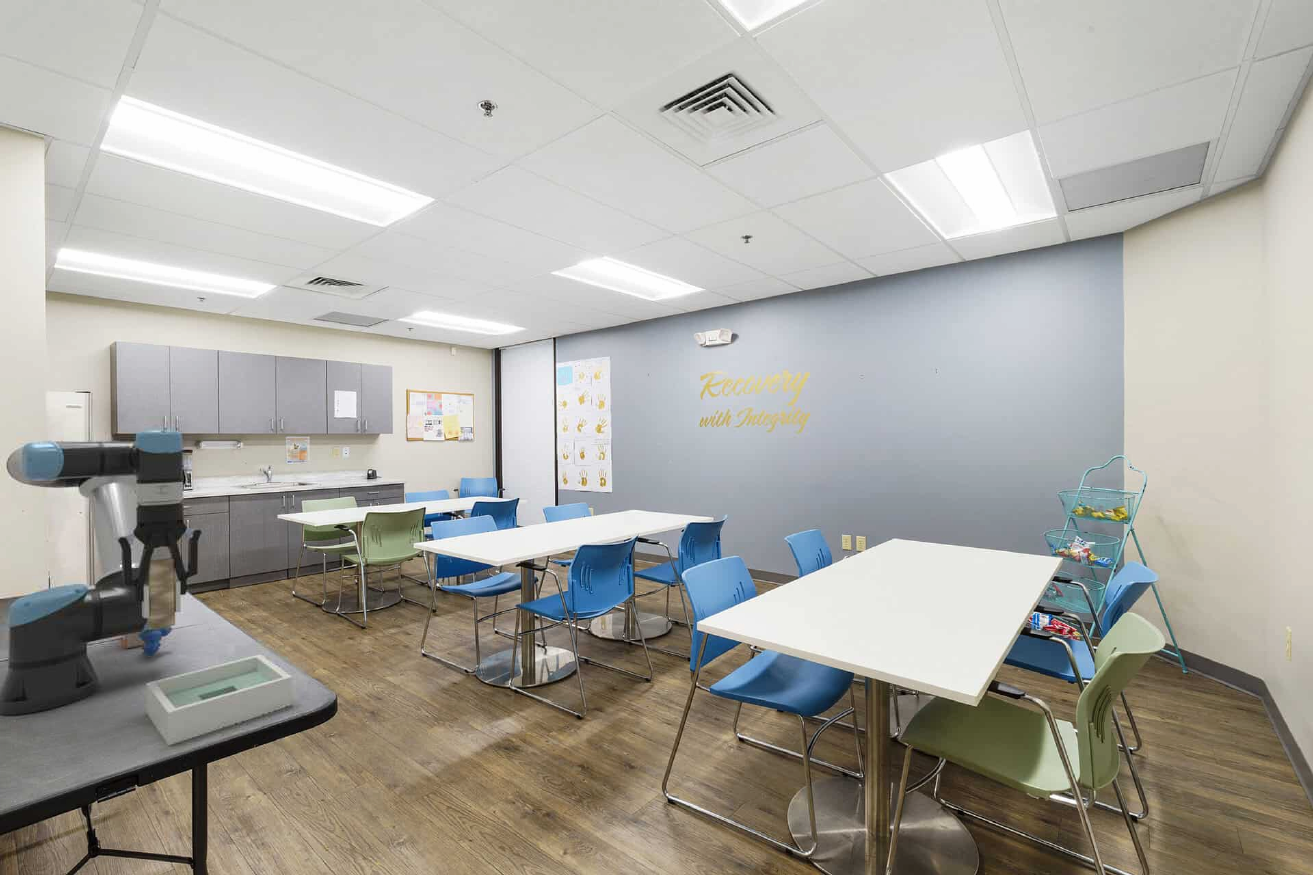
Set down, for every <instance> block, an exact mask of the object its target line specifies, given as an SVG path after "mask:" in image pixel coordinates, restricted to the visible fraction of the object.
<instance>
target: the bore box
mask: <svg viewBox="0 0 1313 875" xmlns="http://www.w3.org/2000/svg"><path fill="white" fill-rule="evenodd" d="M145 702H146V703H145V713H146V715H147V716H148V717H149V719H150V720H151V722H152V723H153V725H154V727H155V728H156V729H157V731H158V732H159V734H160V735H161V737H162V738H163V740H164V741H165V742H166V744H167V746H172V745H174V744H177V743H181V742H184V741H186V740H190V739H193V738H195V737H196V738H197V737H199V736H202V735H205V734H208V733H211V732H215V731H218V730H221V729H224V728H227V727H230V726H233V725H236V724H235V723H237V724H239V723H243V722H246V721H249V720H252V719H255V718H258V717H261V716H264V715H267V714H270V713H274V712H276V711H275V710H277V711H279V709H280V710H282V708H283V709H285V707H286V706H289V707H291V706H290V705H292V706H293V676H291V675H290V674H289V673H287V672H286V671H284V670H283V669H282V668H280V667H279V666H277V664H275V663H274V662H272V661H271V660H269V659H268V658H266V657H265V656H264V655H262V654H256V655H253V656H252V655H251V656H249V657H244V658H241V659H236V660H234V661H233V660H232V661H229V662H225V663H220V664H217V665H213V666H210V667H206V668H205V667H204V668H202V669H198V670H194V671H190V672H186V673H181V674H178V675H174V676H170V677H166V678H162V679H159V680H154V681H150V682H147V683H145ZM286 708H287V707H286ZM273 711H274V712H273ZM269 712H270V713H269ZM263 714H264V715H263ZM242 721H243V722H242ZM223 727H224V728H223Z"/></svg>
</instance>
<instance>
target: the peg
mask: <svg viewBox="0 0 1313 875" xmlns="http://www.w3.org/2000/svg"><path fill="white" fill-rule="evenodd" d="M175 574H176V571H175V563H174V559H173V558H171V557H161V558H154V559H151V561H150V564H149V568H148V571H147V585H148V586H149V618H148V629H149V630H156V629H163V628H167V627H171V628H172V627H173V626H175V625H176V612H175V580H176V579H175V578H176V576H175Z"/></svg>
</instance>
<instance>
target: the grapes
mask: <svg viewBox="0 0 1313 875" xmlns="http://www.w3.org/2000/svg"><path fill="white" fill-rule="evenodd" d="M172 631H173V628H172V626H171V627H167V628H163V629H156V630H145V631H144V632H141V633H140V634H139V635H138V636H139V637H141V638H140V639H142V640H143V641H144V643H145V644H144V645H143V646H141V648H140V649H141V650H142V653H143V654H145V655H146V656H148V657H152V656H155V655H156V654H157V653H158V651H159V650H160V647H161V645H162V643H161V641H162V638H163V637H166V636H169V634H170V633H171V632H172Z"/></svg>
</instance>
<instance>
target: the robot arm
mask: <svg viewBox="0 0 1313 875" xmlns="http://www.w3.org/2000/svg"><path fill="white" fill-rule="evenodd" d="M184 446H185V445H184V444H183V435H182V433H181V432H180V431H178V430H173V429H172V430H171V429H170V430H169V429H168V430H167V429H166V430H165V429H164V430H162V429H160V430H159V429H158V430H157V429H155V430H153V429H152V430H151V429H149V430H140V431H138V432H137V433H136V435H135V440H133V441H131V440H130V441H129V440H128V441H127V440H126V441H125V440H124V441H123V440H122V441H121V440H120V441H119V440H111V441H53V440H48V441H47V440H45V441H32V442H27V443H25V444H24V446H22V447H19V448H18V449H16V450H15V451H13V452H12V453H11V454H10V455H9V457H8V459H7V461H6V470H7V474H9V475H10V476H11V478H13V479H14V480H16V481H17V482H19V483H21V484H24V485H28V486H33V487H39V488H40V487H41V488H49V489H51V488H53V489H60V488H63V489H64V488H78V492H79V494H80V495H81V496H82V497H84V498H86V499H88V500H89V505H90V511H91V517H92V523H93V529H94V535H95V542H96V546H97V551H98V552H97V553H98V559H99V564H100V570H101V577H100V578H98V580H96V582H95V584H94V588H91V589H89V588H88V586H87V585H86V584H83V583H73V584H69V585H62V586H55V587H51V588H47V589H43V590H39V591H36V592H32V593H30V594H27V595H24V596H21V597H19V598H18V599H16V600H15V601H14V602H12V603H11V605H10V606H9V610H8V618H7V622H6V625H7V628H8V656H7V657H8V672H7V673H6V675H5V678H4V680H3V683H2V685H1V687H0V715H3V714H4V716H5V715H6V716H9V715H10V716H13V715H23V714H31V713H35V712H37V713H38V712H41V711H47V710H50V709H56V708H57V707H62V706H65V705H68V704H73V703H74V702H77V701H80V700H82V699H84V698H86V697H89V696H90V695H92V694H94V693H95V692H96V691H97V690H98V689H99V677H98V675H97V673H96V671H95V669H94V667H93V665H92V663H91V661H90V659H89V657H88V643H91V642H98V641H102V640H106V639H111V638H115V637H121V635H126V634H131V633H136V632H141V631H142V632H144V631H145V630H149V629H148V618H149V586H148V585H147V571H148V568H149V564H150V561H151V560H152V557H153V553H154V551H155V549H157V548H164V547H165V548H166V547H167V549H168V551H169V554H170V558H173V559H174V563H175V574H176V577H177V579H175V613H180V612H181V611H182V610H181V609H182V607H181V606H182V605H181V596H184V595H186V594H187V589H188V587H187V586H188V585H187V584H188V583H187V580H188V579H189V578H191V577H192V576H193V577H194V576H196V575H197V574H198V565H199V564H198V561H199V560H198V558H199V554H198V553H199V539H200V536H201V535H202V530H201V529H198V528H190V527H188V526H187V525H186V524H185V520H184V503H182V502H180V501H183V500H184V482H183V481H184V460H183V459H184V458H183V456H184V455H183V453H184V452H183V451H184V448H185V447H184ZM184 534H186V538H187V539H188V545H187V550H188V551H187V570H186V569H185V566H184V562H183V559H182V555H181V553H180V549H179V545H178V541H180V539H181V537H182V536H183V535H184Z"/></svg>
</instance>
